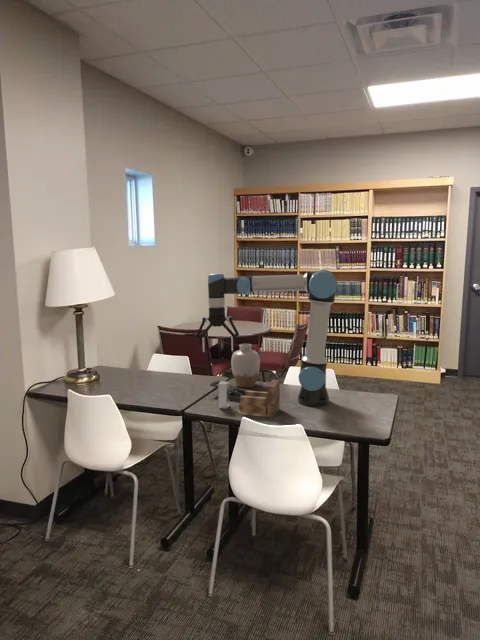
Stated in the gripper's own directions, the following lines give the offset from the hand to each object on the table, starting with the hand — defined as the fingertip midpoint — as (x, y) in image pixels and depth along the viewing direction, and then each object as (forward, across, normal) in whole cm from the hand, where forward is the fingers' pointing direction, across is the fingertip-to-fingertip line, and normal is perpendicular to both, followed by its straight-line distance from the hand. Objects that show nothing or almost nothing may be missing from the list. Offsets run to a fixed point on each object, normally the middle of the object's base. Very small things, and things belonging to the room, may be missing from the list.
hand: (218, 351), depth 225 cm
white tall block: (+26, -2, +3) cm, 27 cm away
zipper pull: (+27, -7, -11) cm, 30 cm away
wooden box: (+27, -18, +10) cm, 34 cm away
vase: (+27, -14, -34) cm, 45 cm away
